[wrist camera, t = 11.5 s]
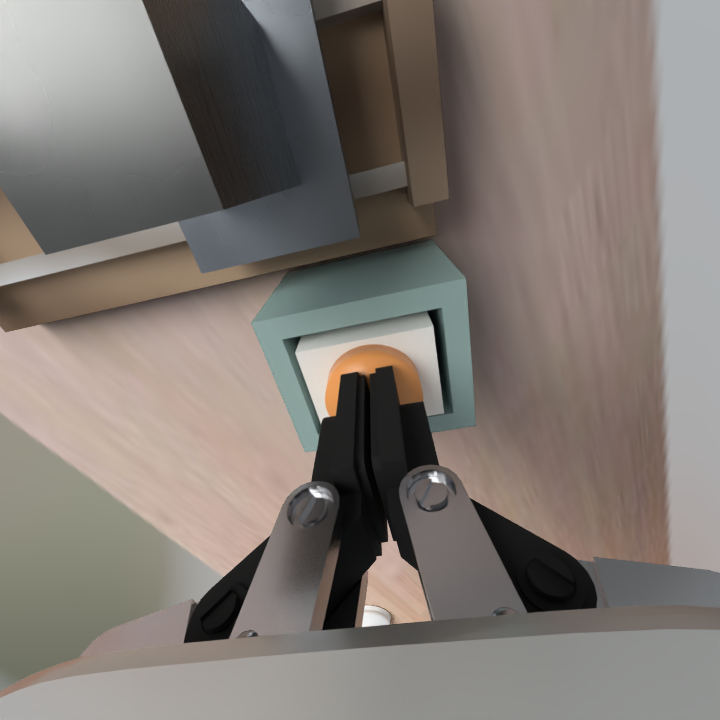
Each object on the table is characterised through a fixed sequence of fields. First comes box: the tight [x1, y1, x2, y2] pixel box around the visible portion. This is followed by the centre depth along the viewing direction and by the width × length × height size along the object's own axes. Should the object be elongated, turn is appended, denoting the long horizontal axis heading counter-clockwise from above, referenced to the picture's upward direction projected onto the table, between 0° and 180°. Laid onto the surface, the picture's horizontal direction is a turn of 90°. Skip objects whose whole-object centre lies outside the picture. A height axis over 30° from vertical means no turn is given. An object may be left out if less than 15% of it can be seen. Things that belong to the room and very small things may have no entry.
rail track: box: [0, 0, 449, 332], centre depth 13 cm, size 10×21×4 cm, turn 103°
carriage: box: [0, 0, 361, 274], centre depth 8 cm, size 8×6×8 cm
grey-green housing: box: [251, 240, 476, 452], centre depth 15 cm, size 6×7×6 cm
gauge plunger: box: [295, 311, 444, 423], centre depth 14 cm, size 4×5×6 cm
